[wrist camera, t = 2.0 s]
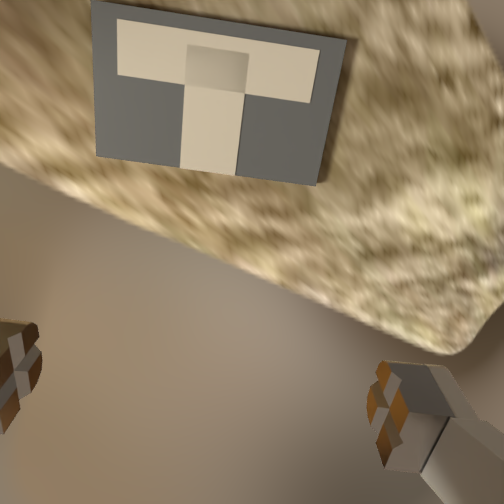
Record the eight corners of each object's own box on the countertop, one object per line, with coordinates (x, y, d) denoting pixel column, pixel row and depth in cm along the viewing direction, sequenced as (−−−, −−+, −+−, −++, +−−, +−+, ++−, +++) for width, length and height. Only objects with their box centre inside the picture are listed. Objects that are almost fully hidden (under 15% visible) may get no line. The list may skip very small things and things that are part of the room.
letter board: (100, 153, 36) (95, 156, 35) (95, 1, 31) (90, -1, 30) (314, 183, 37) (315, 186, 36) (344, 40, 32) (347, 39, 31)
